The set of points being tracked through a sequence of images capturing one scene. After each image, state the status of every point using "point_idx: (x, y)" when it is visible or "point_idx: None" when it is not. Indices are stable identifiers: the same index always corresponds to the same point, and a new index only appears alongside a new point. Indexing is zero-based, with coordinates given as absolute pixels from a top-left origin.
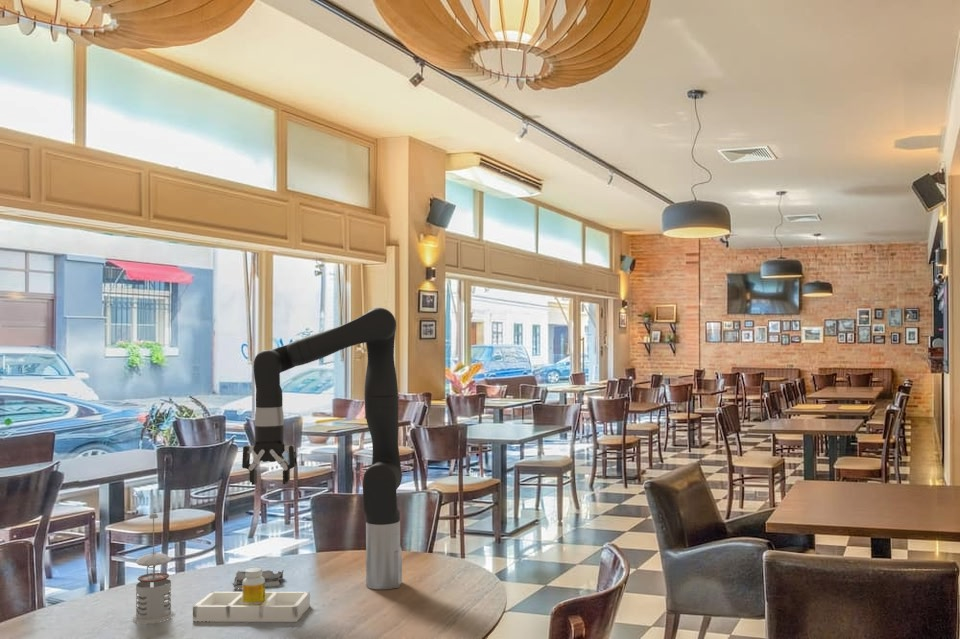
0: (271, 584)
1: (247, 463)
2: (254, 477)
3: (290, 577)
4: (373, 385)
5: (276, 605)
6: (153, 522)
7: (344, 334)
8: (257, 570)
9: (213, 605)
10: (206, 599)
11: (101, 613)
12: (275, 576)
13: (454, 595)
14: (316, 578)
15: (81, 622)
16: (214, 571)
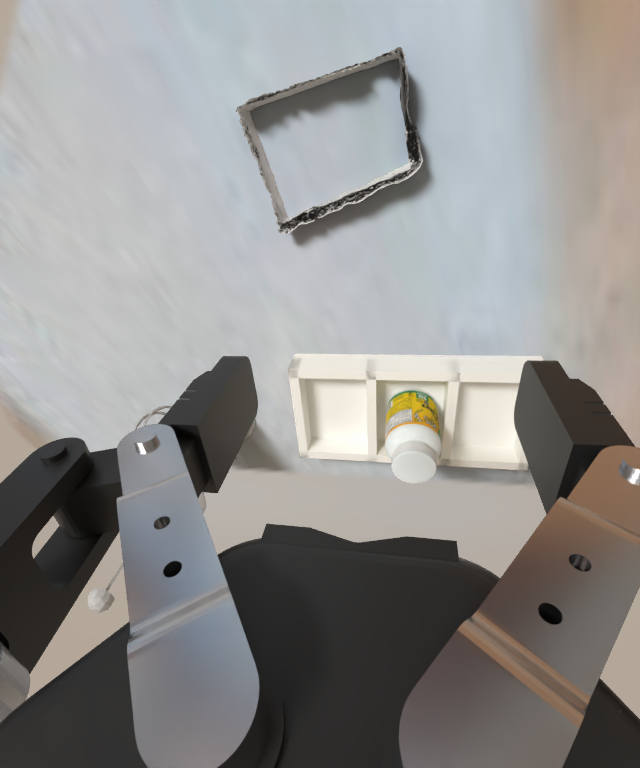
0: (387, 176)
1: (73, 507)
2: (238, 438)
3: (428, 39)
4: None
5: (459, 384)
6: (112, 582)
7: None
8: (426, 474)
9: (338, 453)
10: (303, 417)
11: (111, 394)
12: (372, 65)
13: None
14: (541, 42)
15: (118, 433)
16: None
